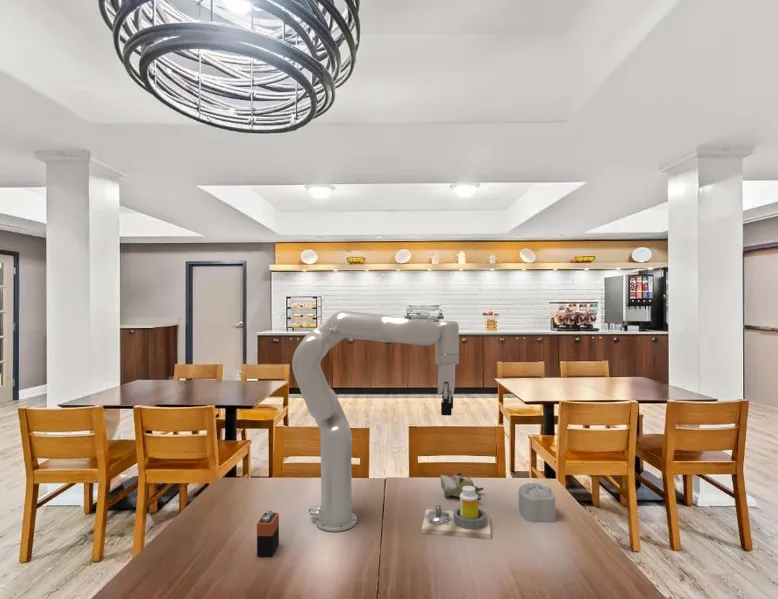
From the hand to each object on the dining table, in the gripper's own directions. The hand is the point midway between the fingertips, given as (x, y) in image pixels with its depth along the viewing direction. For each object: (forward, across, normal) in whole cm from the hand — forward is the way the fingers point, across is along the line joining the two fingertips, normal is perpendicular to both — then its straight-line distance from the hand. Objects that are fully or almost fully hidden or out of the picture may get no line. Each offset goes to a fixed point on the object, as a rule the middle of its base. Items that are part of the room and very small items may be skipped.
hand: (447, 411), depth 151 cm
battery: (+34, +31, -48) cm, 66 cm away
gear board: (+33, +8, +3) cm, 34 cm away
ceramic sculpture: (+33, -14, +4) cm, 36 cm away
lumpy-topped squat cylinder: (+33, -6, +28) cm, 44 cm away
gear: (+32, +8, -2) cm, 33 cm away
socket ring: (+31, +8, +7) cm, 33 cm away
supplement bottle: (+32, +8, +7) cm, 33 cm away
